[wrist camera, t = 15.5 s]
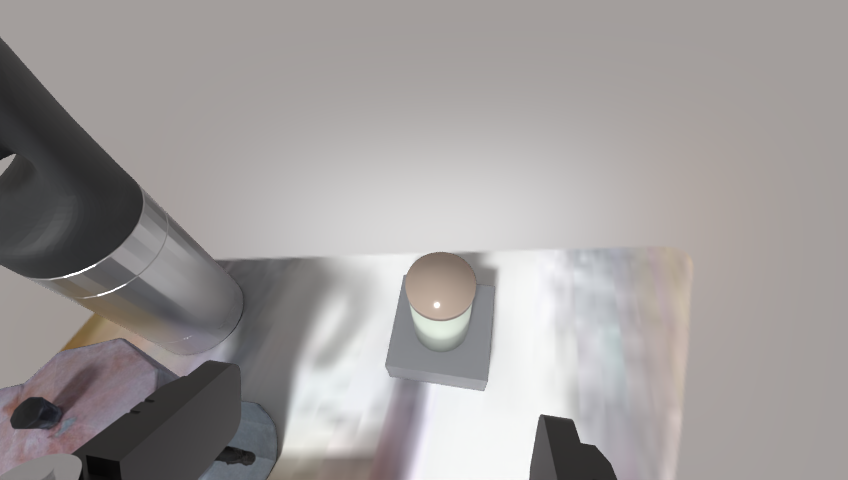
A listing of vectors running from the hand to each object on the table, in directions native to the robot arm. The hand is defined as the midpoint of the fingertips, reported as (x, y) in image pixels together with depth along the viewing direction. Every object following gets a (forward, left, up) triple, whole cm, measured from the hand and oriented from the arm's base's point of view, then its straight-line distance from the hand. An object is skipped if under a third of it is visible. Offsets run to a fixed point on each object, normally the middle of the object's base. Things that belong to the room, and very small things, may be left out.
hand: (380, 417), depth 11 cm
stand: (0, +12, -29) cm, 31 cm away
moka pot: (-17, -1, -29) cm, 34 cm away
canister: (0, +12, -25) cm, 27 cm away
